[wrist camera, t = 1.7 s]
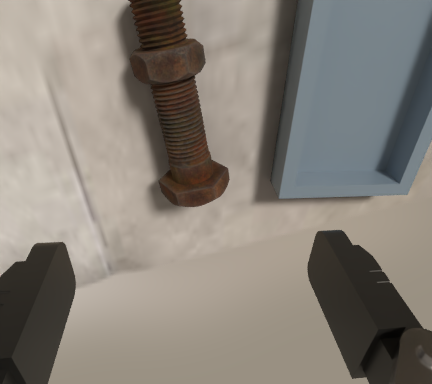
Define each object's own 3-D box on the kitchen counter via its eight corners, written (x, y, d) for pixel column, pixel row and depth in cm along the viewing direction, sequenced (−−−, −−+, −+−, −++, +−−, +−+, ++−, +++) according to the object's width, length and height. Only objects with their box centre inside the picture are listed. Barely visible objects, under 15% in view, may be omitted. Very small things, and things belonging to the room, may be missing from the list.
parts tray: (501, -110, 20) (546, -121, 18) (389, 177, 32) (407, 194, 30) (316, -124, 19) (337, -138, 17) (270, 180, 31) (278, 198, 28)
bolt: (164, -19, 23) (202, 167, 31) (95, -7, 21) (155, 189, 29) (212, -30, 19) (241, 189, 27) (131, -16, 17) (189, 217, 25)
